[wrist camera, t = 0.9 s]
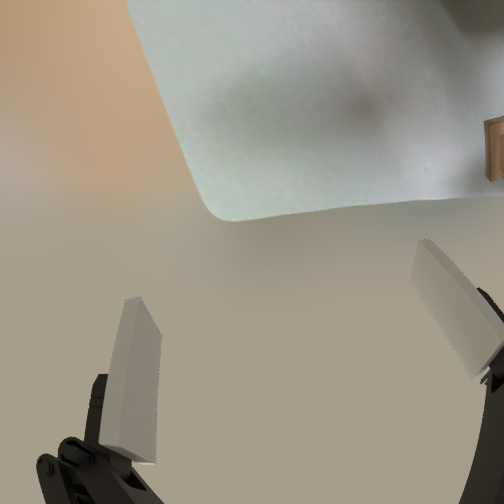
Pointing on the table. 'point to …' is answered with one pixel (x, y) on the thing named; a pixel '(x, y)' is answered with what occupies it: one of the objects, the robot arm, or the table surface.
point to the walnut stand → (494, 148)
